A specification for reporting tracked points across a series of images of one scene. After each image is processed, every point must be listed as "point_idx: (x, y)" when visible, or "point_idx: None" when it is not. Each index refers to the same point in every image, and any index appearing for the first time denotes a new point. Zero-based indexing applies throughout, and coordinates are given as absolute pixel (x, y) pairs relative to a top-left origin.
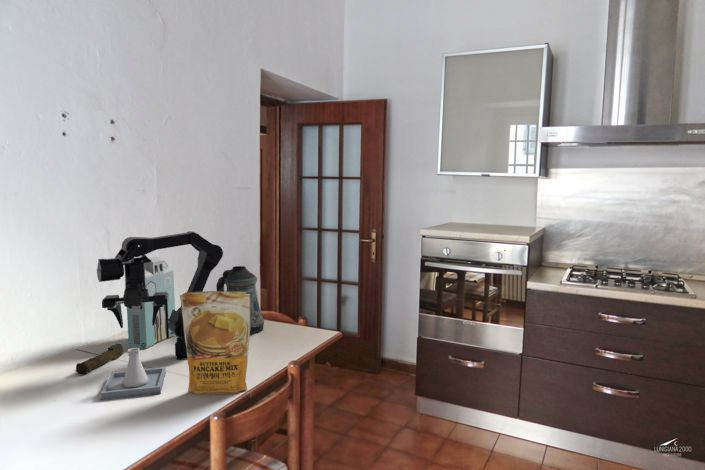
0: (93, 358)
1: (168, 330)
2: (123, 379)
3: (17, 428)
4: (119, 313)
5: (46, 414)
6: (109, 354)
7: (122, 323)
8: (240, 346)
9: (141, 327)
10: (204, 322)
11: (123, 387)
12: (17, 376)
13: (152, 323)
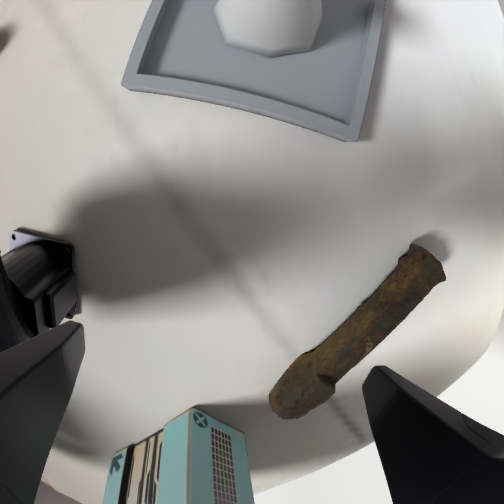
0: (400, 308)
1: (125, 463)
2: (321, 9)
3: (492, 6)
4: (472, 460)
5: (471, 18)
6: (333, 353)
7: (380, 405)
8: None
9: (204, 475)
10: None
11: None
12: (494, 308)
13: (70, 333)
